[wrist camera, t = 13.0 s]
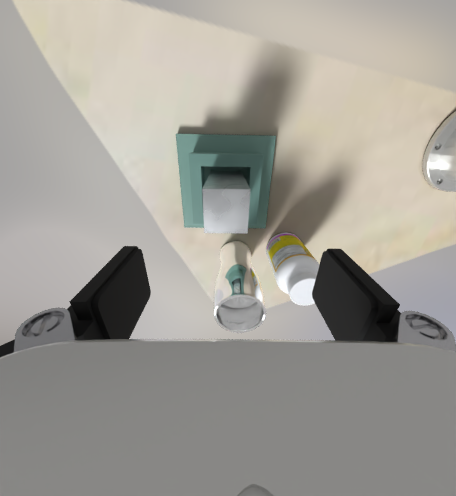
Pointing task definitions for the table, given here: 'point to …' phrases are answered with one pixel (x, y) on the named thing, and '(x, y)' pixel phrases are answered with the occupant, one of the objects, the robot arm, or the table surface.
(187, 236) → the table surface
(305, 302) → the supplement bottle
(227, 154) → the well
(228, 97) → the table surface
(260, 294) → the beer glass
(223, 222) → the silver square block
